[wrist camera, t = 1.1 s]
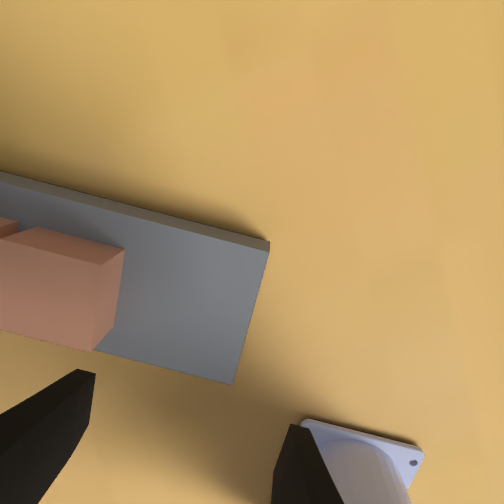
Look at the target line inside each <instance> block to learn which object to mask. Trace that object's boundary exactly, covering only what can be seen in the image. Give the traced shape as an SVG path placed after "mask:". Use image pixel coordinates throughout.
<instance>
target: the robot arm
mask: <svg viewBox="0 0 504 504" xmlns="http://www.w3.org/2000/svg"><path fill="white" fill-rule="evenodd" d="M95 376H96V373H92V372H88V371H84V370H80V369H76V370H74V371H72V372H71V373H69V374H67V375H66V376H64V377H62V378H61V379H59V380H58V381H56V382H54V383H53V384H51V385H49V386H48V387H46V388H45V389H43V390H41V391H40V392H38V393H36V394H35V395H33V396H31V397H30V398H28V399H26V400H24V401H23V402H21V403H19V404H17V405H16V406H14V407H12V408H11V409H9V410H7V411H5V412H4V413H2V414H0V504H38V503H39V501H40V500H41V498H42V497H43V495H44V494H45V493H46V491H47V490H48V488H49V487H50V486H51V484H52V483H53V481H54V480H55V478H56V477H57V476H58V474H59V473H60V471H61V470H62V468H63V467H64V466H65V464H66V463H67V461H68V460H69V458H70V457H71V455H72V453H73V452H74V450H75V448H76V446H77V445H78V443H79V441H80V439H81V438H82V436H83V434H84V432H85V430H86V428H87V427H88V425H89V419H90V412H91V405H92V398H93V390H94V383H95ZM423 459H424V453H423V451H422V449H421V448H420V447H418V446H414V445H410V444H406V443H402V442H398V441H394V440H390V439H387V438H383V437H379V436H375V435H371V434H367V433H363V432H359V431H355V430H352V429H348V428H344V427H340V426H336V425H332V424H328V423H324V422H320V421H316V420H313V419H305V420H303V421H302V422H301V425H300V426H298V425H294V424H290V427H289V430H288V432H287V435H286V438H285V441H284V444H283V446H282V449H281V452H280V455H279V458H278V460H277V463H276V466H275V469H274V473H273V486H272V501H271V504H412V503H411V500H410V497H409V495H408V492H407V490H408V488H409V486H410V484H411V482H412V480H413V478H414V476H415V474H416V473H417V471H418V469H419V467H420V465H421V463H422V461H423ZM411 460H413V461H411Z"/></svg>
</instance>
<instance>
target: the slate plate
mask: <svg viewBox="0 0 504 504" xmlns="http://www.w3.org/2000/svg"><path fill="white" fill-rule="evenodd" d="M0 217H3V218H7V219H11V220H15V221H18V232H17V233H19V232H22V231H25V230H28V229H31V228H34V227H37V226H38V227H42V228H46V229H49V230H53V231H57V232H61V233H65V234H69V235H72V236H76V237H80V238H84V239H88V240H92V241H95V242H99V243H103V244H107V245H111V246H115V247H118V248H122V249H125V253H124V260H123V267H122V274H121V280H120V287H119V294H118V300H117V307H116V314H115V320H114V327H113V328H112V329H111V330H110V331H109V332H108V333H107V334H106V336H105V337H104V338H103V339H102V340H101V341H100V342H99V343H98V344H97V346H96V347H95V348H94V349H93V350H96V351H100V352H104V353H108V354H112V355H116V356H120V357H123V358H127V359H131V360H135V361H139V362H143V363H147V364H151V365H155V366H158V367H162V368H166V369H170V370H174V371H178V372H182V373H186V374H190V375H193V376H197V377H201V378H205V379H209V380H213V381H217V382H221V383H225V384H228V385H232V384H233V380H234V376H235V373H236V369H237V366H238V362H239V359H240V355H241V352H242V348H243V344H244V341H245V337H246V334H247V330H248V327H249V323H250V320H251V316H252V312H253V309H254V305H255V302H256V298H257V295H258V291H259V288H260V284H261V280H262V277H263V273H264V270H265V266H266V263H267V259H268V256H269V251H270V242H269V241H265V240H261V239H257V238H254V237H250V236H246V235H242V234H238V233H235V232H231V231H227V230H223V229H219V228H216V227H212V226H208V225H204V224H200V223H196V222H193V221H189V220H185V219H181V218H177V217H174V216H170V215H166V214H162V213H158V212H155V211H151V210H147V209H143V208H139V207H135V206H132V205H128V204H124V203H120V202H116V201H113V200H109V199H105V198H101V197H97V196H94V195H90V194H86V193H82V192H78V191H74V190H71V189H67V188H63V187H59V186H55V185H52V184H48V183H44V182H40V181H36V180H33V179H29V178H25V177H21V176H17V175H13V174H10V173H6V172H2V171H0Z"/></svg>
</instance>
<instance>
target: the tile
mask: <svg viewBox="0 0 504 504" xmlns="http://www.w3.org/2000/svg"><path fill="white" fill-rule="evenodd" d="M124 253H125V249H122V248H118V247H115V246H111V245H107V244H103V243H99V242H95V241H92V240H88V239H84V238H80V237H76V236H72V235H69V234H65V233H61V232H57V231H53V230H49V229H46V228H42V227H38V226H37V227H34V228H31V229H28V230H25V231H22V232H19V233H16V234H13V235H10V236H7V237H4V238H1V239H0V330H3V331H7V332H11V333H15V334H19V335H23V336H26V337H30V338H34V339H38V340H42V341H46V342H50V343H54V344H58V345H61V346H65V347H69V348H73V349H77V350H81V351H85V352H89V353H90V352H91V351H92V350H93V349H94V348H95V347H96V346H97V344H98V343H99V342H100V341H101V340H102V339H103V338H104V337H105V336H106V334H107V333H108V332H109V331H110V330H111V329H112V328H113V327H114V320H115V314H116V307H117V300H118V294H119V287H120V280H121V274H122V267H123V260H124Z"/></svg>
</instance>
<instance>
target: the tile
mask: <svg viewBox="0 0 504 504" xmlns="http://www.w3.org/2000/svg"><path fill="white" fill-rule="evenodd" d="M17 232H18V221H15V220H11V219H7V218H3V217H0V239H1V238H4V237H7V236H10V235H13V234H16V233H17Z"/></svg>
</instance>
